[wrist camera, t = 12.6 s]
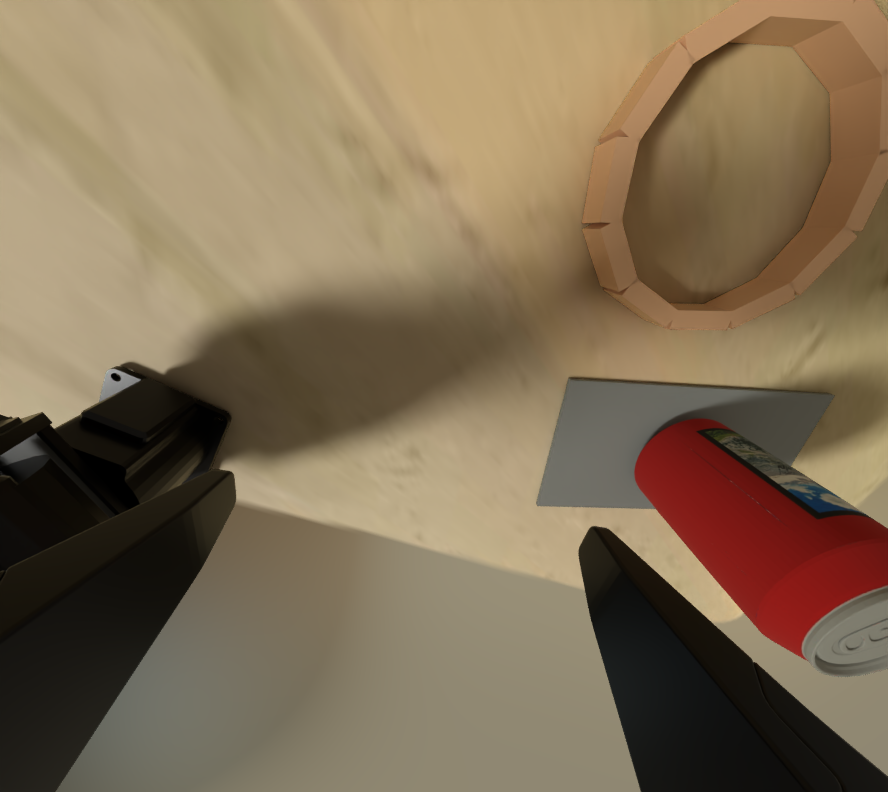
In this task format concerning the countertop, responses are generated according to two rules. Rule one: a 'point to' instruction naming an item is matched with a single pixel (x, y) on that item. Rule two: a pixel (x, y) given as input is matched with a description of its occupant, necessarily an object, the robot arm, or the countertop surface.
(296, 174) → the countertop surface
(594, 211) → the segmented polygon ring
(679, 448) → the beverage can
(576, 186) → the countertop surface
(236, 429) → the countertop surface
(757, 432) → the mat
